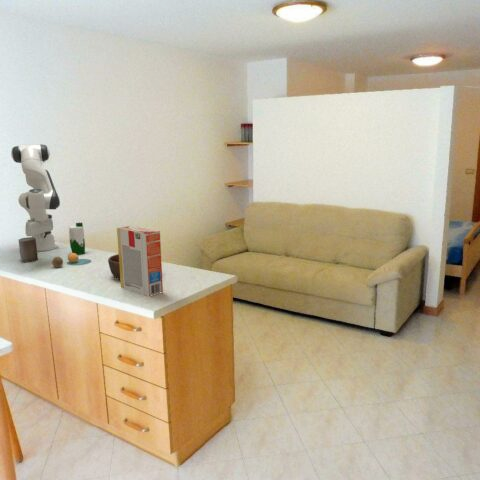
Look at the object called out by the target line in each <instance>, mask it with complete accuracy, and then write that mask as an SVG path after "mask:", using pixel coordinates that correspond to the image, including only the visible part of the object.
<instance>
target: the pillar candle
mask: <svg viewBox="0 0 480 480" xmlns="http://www.w3.org/2000/svg"><path fill="white" fill-rule="evenodd" d="M18 247H19V253H20V261H21V262H22V263H32V261H33V262H36V260H37V261H39V257H38V256H39V255H38V251H37V246H36V238H34V237H32V236H26V237H22V238H19V239H18Z"/></svg>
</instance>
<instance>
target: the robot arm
mask: <svg viewBox="0 0 480 480" xmlns="http://www.w3.org/2000/svg"><path fill="white" fill-rule="evenodd" d="M10 154H11V155H10V156H11V158H12V160H13V161H14V162H15V163H18V164H20V165H21V168H22V172H23V175H24V176H25V182H26V184H27V185H28V186H29V187H31V189H29V190H28V191H27V192H22V193H20V194H19V196H18V203H19V205H20V207H22V208H23V209H25V211H26V212H27V213H28V215H29V219H28V220H27V221H26V222H25V228H24V229H25V236H26V237H34V238H36V246H37V252H45V251H50V250H53V249H58V248H59V245H57V244H56V240H55V236H54V235H53V234H52V231H53V229H54V220H53V215H52V214H49V213H47V211H46V210H57V209H58V208H59V207H60V205H61V199H60V197H59V195H58V192H57V191H56V187H55V185H54V183H53V179H52V177H51V174H50V172H49V171H48V169H45V168H44V167H43V165H42V163H45V162H46V161H48V160H49V158H50V154H51V153H50V149H49V147H48V145H46V144H25V145H17V146H13V147H12V148H11V153H10Z"/></svg>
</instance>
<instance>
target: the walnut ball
mask: <svg viewBox="0 0 480 480" xmlns="http://www.w3.org/2000/svg"><path fill="white" fill-rule="evenodd" d="M63 263H64V261H63V258H62V257H60V256H56V257H53V258H52V260H51V264H52V267H54V268H61V267H62V266H63Z"/></svg>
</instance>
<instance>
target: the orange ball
mask: <svg viewBox="0 0 480 480" xmlns="http://www.w3.org/2000/svg"><path fill="white" fill-rule="evenodd" d="M78 259H79V255H77V254H75V253H72V252H71V253H70V254H68V257H67V261H68V262H71V263H76V262H77V261H78Z"/></svg>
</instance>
